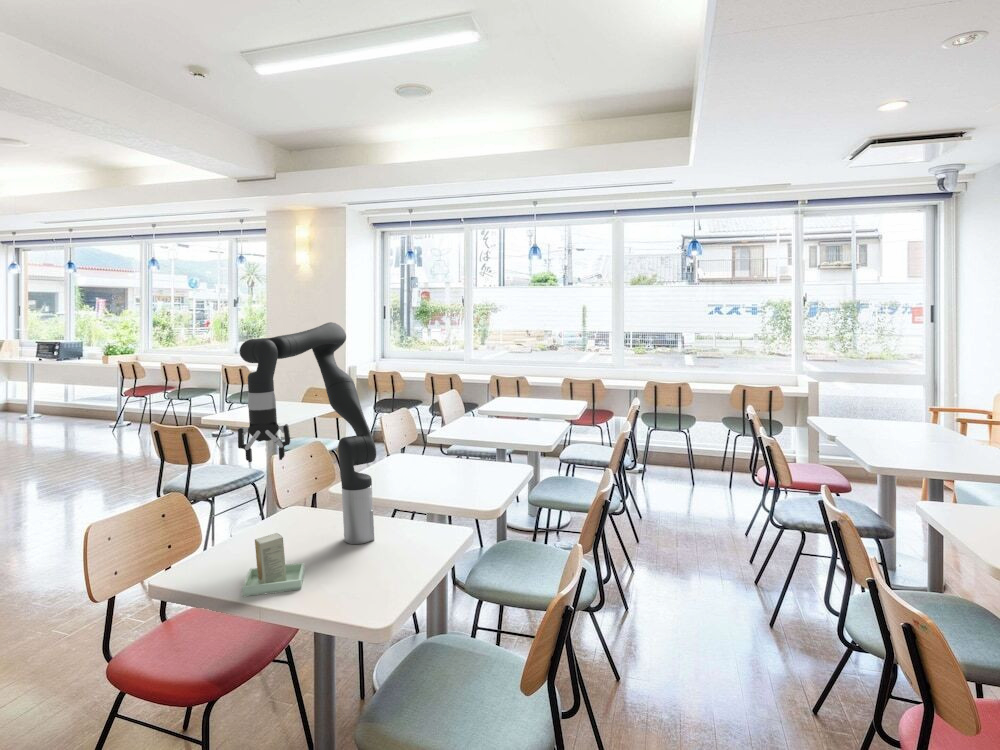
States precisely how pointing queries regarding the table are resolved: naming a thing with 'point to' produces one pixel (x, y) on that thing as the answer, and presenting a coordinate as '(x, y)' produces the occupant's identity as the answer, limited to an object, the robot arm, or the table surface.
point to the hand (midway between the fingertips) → (265, 460)
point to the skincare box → (270, 559)
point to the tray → (292, 583)
